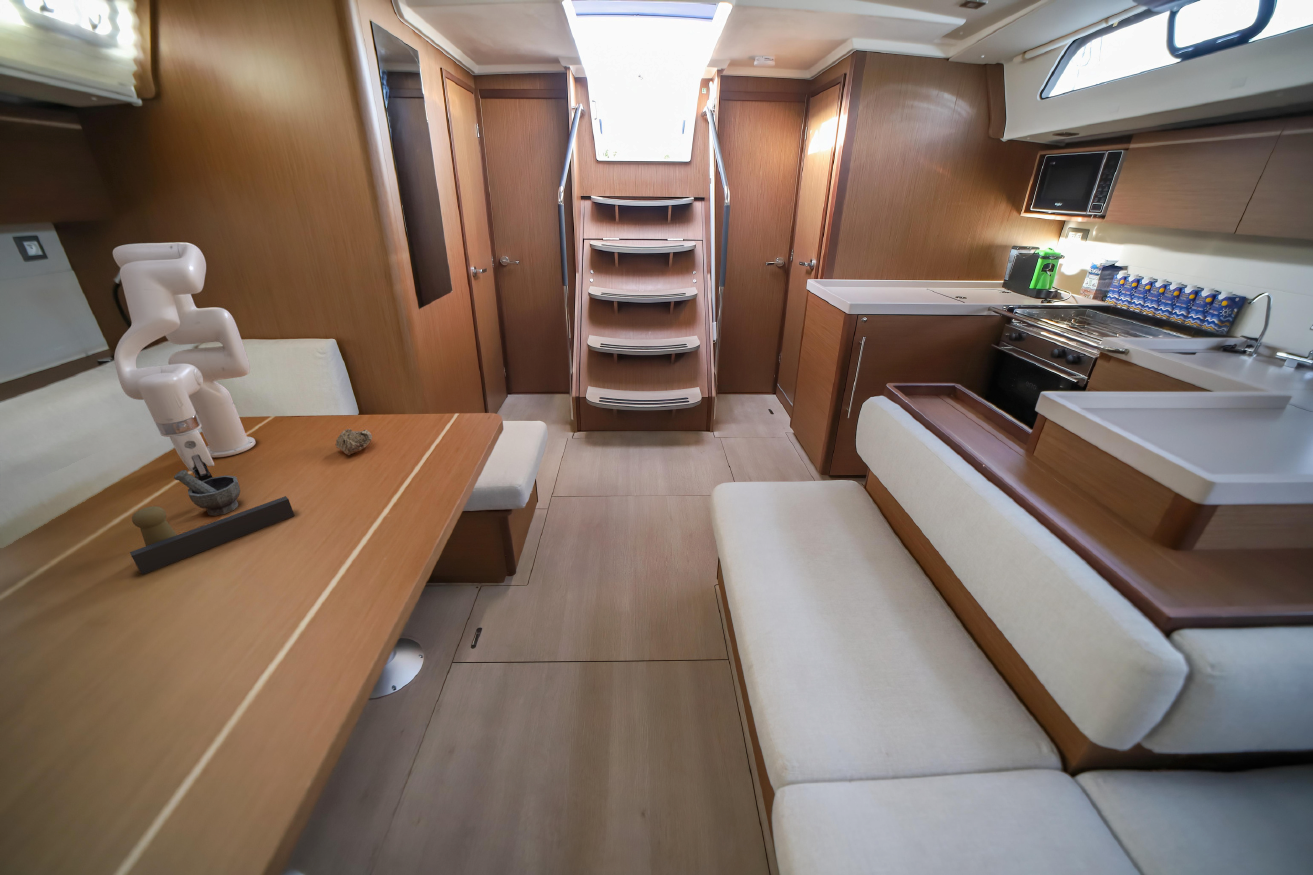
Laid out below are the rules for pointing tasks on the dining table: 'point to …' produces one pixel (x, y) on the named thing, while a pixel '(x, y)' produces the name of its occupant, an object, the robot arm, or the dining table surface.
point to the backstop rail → (211, 535)
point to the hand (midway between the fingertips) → (208, 488)
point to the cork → (153, 524)
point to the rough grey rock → (353, 440)
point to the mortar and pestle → (212, 492)
